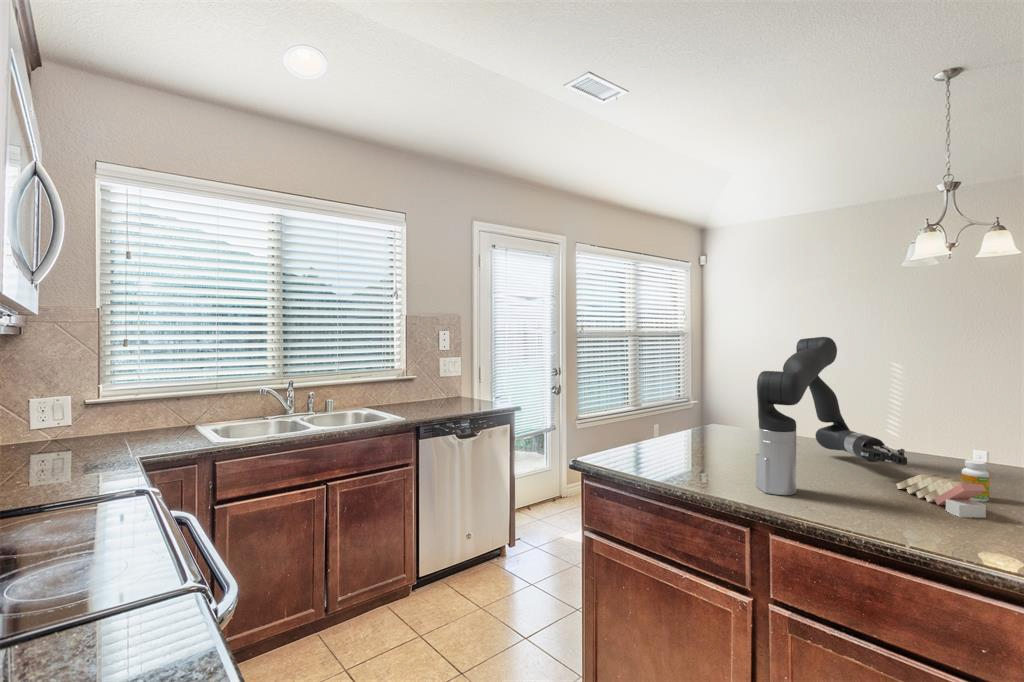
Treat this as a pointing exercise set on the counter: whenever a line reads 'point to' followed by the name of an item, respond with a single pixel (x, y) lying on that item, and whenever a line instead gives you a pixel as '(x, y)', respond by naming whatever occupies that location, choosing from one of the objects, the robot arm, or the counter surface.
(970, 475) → the supplement bottle
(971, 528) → the counter surface
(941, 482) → the domino
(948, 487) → the domino
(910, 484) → the domino
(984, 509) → the block
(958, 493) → the domino
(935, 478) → the domino
